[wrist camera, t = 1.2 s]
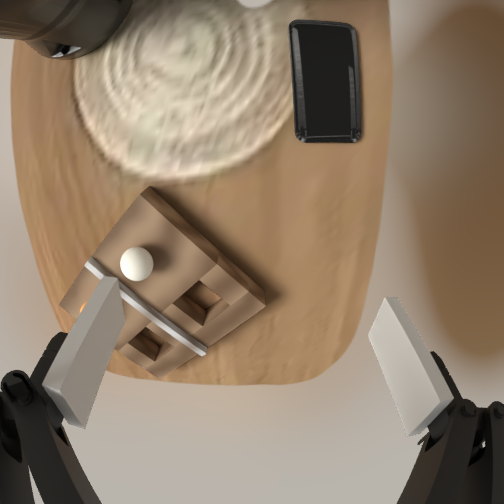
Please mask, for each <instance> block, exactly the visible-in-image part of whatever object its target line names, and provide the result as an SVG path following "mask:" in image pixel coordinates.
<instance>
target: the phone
mask: <svg viewBox="0 0 504 504" xmlns="http://www.w3.org/2000/svg"><path fill="white" fill-rule="evenodd" d="M288 34H289V46H290V58H291V72H292V87H293V104H294V123H295V135H296V137H297V138H298V139H299V140H300V141H302V142H306V143H315V142H340V143H353V142H356V141H357V140H358V139H359V138H360V135H361V116H360V85H359V68H358V54H357V43H356V33H355V29H354V28H353V27H352V26H351V25H350V24H347V23H341V22H330V21H317V20H294V21H292V22H291V23H290V25H289V27H288Z"/></svg>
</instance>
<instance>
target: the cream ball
mask: <svg viewBox="0 0 504 504" xmlns="http://www.w3.org/2000/svg"><path fill="white" fill-rule="evenodd" d="M120 266H121V270H122V272H123V274H124V275H125V276H126V277H127V278H128V279H130V280H133V281H141V280H144V279H145V278H147V277H148V276H149V275H150V274H151V272H152V269H153V259H152V256H151V254H150V253H149V252H148V251H147V250H146V249H144V248H141V247H132V248H130V249H128V250H126V251H125V252H124V254H123V255H122V257H121V261H120Z"/></svg>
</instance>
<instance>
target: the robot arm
mask: <svg viewBox="0 0 504 504" xmlns="http://www.w3.org/2000/svg"><path fill="white" fill-rule="evenodd" d="M131 3H132V0H0V38H4V39H15V40H23V41H24V42H26V43H27V44H28V45H29V46H30V47H32V48H33V49H34V50H35V51H37V52H38V53H39V54H41V55H42V56H45V57H47V58H53V59H60V60H68V59H74V58H78V57H80V56H83V55H85V54H87V53H89V52H91V51H93V50H94V49H96V48H97V47H99V46H100V45H101V44H102V43H104V42H105V41H106V40H107V39H108V38H109V37H110V36H111V35H112V34H113V33H114V32H115V31H116V30H117V28H118V27H119V26H120V24H121V23H122V21H123V20H124V18H125V17H126V15H127V13H128V11H129V9H130V6H131ZM125 322H126V320H125V315H124V310H123V305H122V300H121V294H120V289H119V283H118V278H115V277H107V276H103V278H102V279H101V281H100V282H99V284H98V286H97V287H96V289H95V290H94V292H93V293H92V295H91V297H90V298H89V300H88V301H87V303H86V305H85V306H84V308H83V310H82V311H81V313H80V315H79V316H78V318H77V320H76V321H75V323H74V325H73V327H72V328H71V330H70V332H69V334H68V333H64V332H59V333H58V334H57V335H55V336H54V337H53V338H52V339H51V341H50V342H49V344H48V346H47V348H46V350H45V351H44V353H43V355H42V357H41V358H40V360H39V362H38V364H37V365H36V367H35V369H34V371H33V373H32V375H31V377H30V378H29V377H28V375H27V374H26V373H25V372H23V371H20V370H14V371H11V372H9V373H7V374H6V375H5V376H4V377H3V379H2V381H1V390H2V391H3V392H0V504H35V502H34V498H33V492H32V487H31V481H30V474H29V468H30V471H31V473H32V476H33V478H34V481H35V483H36V486H37V488H38V490H39V493H40V495H41V497H42V500H43V502H44V504H102V503H101V501H100V500H99V498H98V496H97V495H96V493H95V492H94V490H93V488H92V486H91V484H90V482H89V481H88V479H87V477H86V475H85V473H84V471H83V469H82V467H81V465H80V463H79V461H78V459H77V457H76V455H75V453H74V450H73V448H72V446H71V444H70V442H69V439H68V437H67V435H66V432H65V430H64V427H63V426H62V424H61V423H62V421H63V418H65V419H66V421H67V422H68V423H69V424H71V425H74V426H77V427H80V428H84V429H85V427H86V424H87V421H88V418H89V415H90V412H91V409H92V406H93V403H94V400H95V398H96V395H97V392H98V389H99V386H100V384H101V381H102V378H103V376H104V373H105V371H106V368H107V365H108V363H109V360H110V358H111V355H112V353H113V350H114V348H115V345H116V343H117V340H118V338H119V336H120V333H121V331H122V329H123V326H124V324H125ZM368 338H369V340H370V343H371V345H372V347H373V350H374V352H375V355H376V357H377V359H378V362H379V364H380V367H381V369H382V372H383V374H384V377H385V379H386V381H387V384H388V387H389V389H390V392H391V394H392V397H393V400H394V402H395V405H396V408H397V410H398V413H399V416H400V419H401V421H402V424H403V427H404V430H405V433H406V435H407V437H408V436H412V435H416V434H420V433H421V432H422V431H423V430H424V429H425V428H426V427H428V429H429V432H428V433H427V434H426V435H425V436H424V437H423V438H422V439H421V440H420V441H419V442H418V445H420V443H422V442H423V441H424V443H423V445H422V448H421V451H420V453H419V456H418V458H417V461H416V463H415V465H414V468H413V470H412V472H411V475H410V477H409V479H408V481H407V484H406V486H405V488H404V490H403V492H402V494H401V496H400V498H399V500H398V502H397V504H504V404H502V403H501V402H499V401H495V402H493V403H492V404H491V405H490V406H489V407H488V408H478V407H476V405H475V404H474V403H473V402H471V401H470V400H468V399H463V398H462V397H461V395H460V393H459V391H458V389H457V387H456V385H455V383H454V381H453V379H452V377H451V376H450V375H449V372H448V370H447V368H445V365H444V363H443V361H442V359H441V358H440V357H439V356H438V355H437V354H436V353H435V352H434V351H433V352H429V350H428V348H427V347H426V345H425V343H424V341H423V339H422V338H421V336H420V334H419V333H418V331H417V329H416V328H415V326H414V324H413V323H412V321H411V319H410V318H409V316H408V314H407V313H406V311H405V309H404V308H403V306H402V305H401V303H400V301H399V300H398V298H397V297H384V300H383V302H382V305H381V307H380V309H379V311H378V314H377V316H376V318H375V321H374V323H373V325H372V327H371V330H370V332H369V334H368ZM484 441H485V447H484V448H483V447H482V443H483V442H484ZM28 465H29V467H28Z"/></svg>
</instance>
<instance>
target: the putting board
mask: <svg viewBox="0 0 504 504" xmlns="http://www.w3.org/2000/svg"><path fill="white" fill-rule="evenodd" d="M132 247H141V248H144V249H146V250H147V251H148V252H149V253H150V254H151V256H152V259H153V269H152V272H151V274H150V275H149V276H148V277H147V278H145V279H144V280H141V281H133V280H130V279H128V278H127V277H126V276H125V275H124V274H123V272H122V270H121V266H120V261H121V257H122V255H123V254H124V252H125V251H126V250H128V249H130V248H132ZM103 276H107V277H115V278H118V283H119V289H120V294H121V300H122V305H123V310H124V315H125V320H126V322H125V324H124V326H123V329H122V331H121V333H120V336H119V338H118V340H117V343H116V345H115V348H114V349H116V350H117V351H118V352H120V353H121V354H123V355H124V356H126V357H127V358H128V359H130V360H131V361H133V362H134V363H136V364H137V365H139V366H140V367H142V368H143V369H145V370H147V371H148V372H150V373H151V374H153V375H154V376H156V377H158V378H159V379H161V378H162V377H164V376H165V375H167V374H168V373H170V372H171V371H173V370H175V369H176V368H178V367H179V366H181V365H182V364H184V363H185V362H187V361H188V360H190V359H191V358H193V357H194V356H196V355H197V354H199V355H200V356H203V355H205V354H206V353H207V347H209V346H210V345H212V344H213V343H215V342H216V341H218V340H219V339H221V338H222V337H223V336H225V335H226V334H228V333H229V332H231V331H232V330H233V329H235V328H236V327H238V326H239V325H241V324H242V323H243V322H245V321H246V320H248V319H249V318H250V317H252V316H253V315H255V314H256V313H257V312H259V311H260V310H261V309H263V308H264V307H266V302H265V292H264V290H263V289H262V288H261V287H259V286H258V285H257V284H256V283H255V282H254V281H253V280H251V279H250V278H249V277H248V276H247V275H246V274H245V273H244V272H243V271H241V270H240V269H239V268H238V267H237V266H236V265H235V264H234V263H232V262H231V261H230V260H229V259H228V258H227V257H226V256H225V255H224V254H222V253H221V252H220V251H219V250H218V249H217V248H216V247H215V246H214V245H212V244H211V243H210V242H209V241H208V240H207V239H206V238H205V237H204V236H203V235H201V234H200V233H199V232H198V231H197V230H196V229H195V228H194V227H193V226H192V225H190V224H189V223H188V222H187V221H186V220H185V219H184V218H183V217H182V216H181V215H180V214H178V213H177V212H176V211H175V210H174V209H173V208H172V207H171V206H170V205H169V204H168V203H167V202H165V201H164V200H163V199H162V198H161V197H160V196H159V195H158V194H157V193H156V192H155V191H154V190H153V189H151V188H150V187H148V188H147V189H145V190H144V191H143V192H142V193H141V194H140V195H139V196H138V197H137V199H136V200H135V201H134V202H133V203H132V205H131V206H130V207H129V208H128V209H127V211H126V212H125V213H124V214H123V216H122V217H121V218H120V219H119V221H118V222H117V223H116V224H115V226H114V227H113V228H112V230H111V231H110V232H109V234H108V235H107V236H106V237H105V239H104V240H103V241H102V243H101V244H100V245H99V247H98V248H97V250H96V251H95V252H94V254H93V255H92V256H91V258H90V259H89V260H88V261H87V263H86V264H85V265H84V268H83V269H82V271H81V272H80V274H79V275H78V276H77V278H76V279H75V281H74V282H73V284H72V285H71V287H70V288H69V290H68V292H67V293H66V295H65V296H64V298H63V299H62V301H61V302H60V304H59V305H60V306H61V307H62V308H63V309H64V310H66V311H67V312H68V313H69V314H70V315H71V316H73V317H74V318H75V319H76V320H77V318H78V316H79V315H80V309H81V307H82V305H83V304H84V303H85V302H87V301H88V300H89V298H90V297H91V295H92V293H93V292H94V290H95V289H96V287H97V286H98V284H99V282H100V281H101V279H102V278H103ZM198 280H200V281H201V282H202V283H203V284H205V285H206V286H207V287H208V288H210V289H211V290H212V291H213V292H214V293H216V294H217V295H218V296H219V297H220V298H221V299H220V300H219V301H217V302H216V303H215V304H214V305H212V306H211V307H210V308H209V309H207V310H206V311H205V310H203V309H202V308H201V307H200V306H198V305H197V304H196V303H195V302H193V301H192V300H191V299H189V298H188V297H187V296H186V295H184V294H183V293H185V292H186V291H187V290H188V289H189V288H190V287H191V286H193V285H194V284H195V283H196V282H197V281H198ZM145 327H147V328H148V329H150V330H151V331H152V332H154V333H155V334H157V335H158V336H159V337H161V338H162V339H164V340H165V341H166V342H165V343H164V344H162V345H161V346H160V347H159V346H157V345H156V344H154V343H153V342H152V341H150V340H149V339H147V338H146V337H145V336H143V335H142V334H140V333H139V332H140V331H141V330H143V329H144V328H145Z"/></svg>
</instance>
